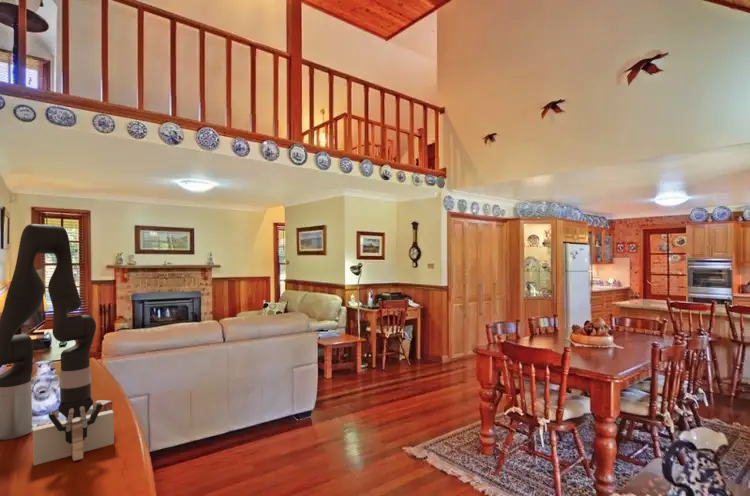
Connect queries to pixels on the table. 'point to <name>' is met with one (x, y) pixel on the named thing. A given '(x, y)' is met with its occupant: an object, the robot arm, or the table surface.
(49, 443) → the notched board
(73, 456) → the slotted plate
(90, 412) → the small box
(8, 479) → the table surface
